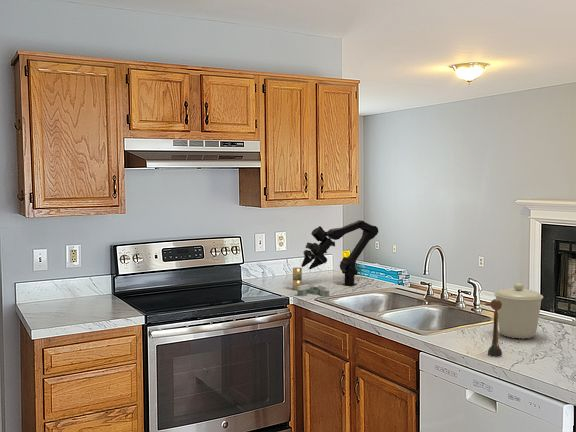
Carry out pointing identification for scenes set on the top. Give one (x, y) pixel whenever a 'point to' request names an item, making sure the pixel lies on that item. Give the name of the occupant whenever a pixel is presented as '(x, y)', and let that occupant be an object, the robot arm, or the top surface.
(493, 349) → the wooden tabletop sculpture
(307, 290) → the shaft bench
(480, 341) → the top surface
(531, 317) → the canister
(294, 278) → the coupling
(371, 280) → the top surface
